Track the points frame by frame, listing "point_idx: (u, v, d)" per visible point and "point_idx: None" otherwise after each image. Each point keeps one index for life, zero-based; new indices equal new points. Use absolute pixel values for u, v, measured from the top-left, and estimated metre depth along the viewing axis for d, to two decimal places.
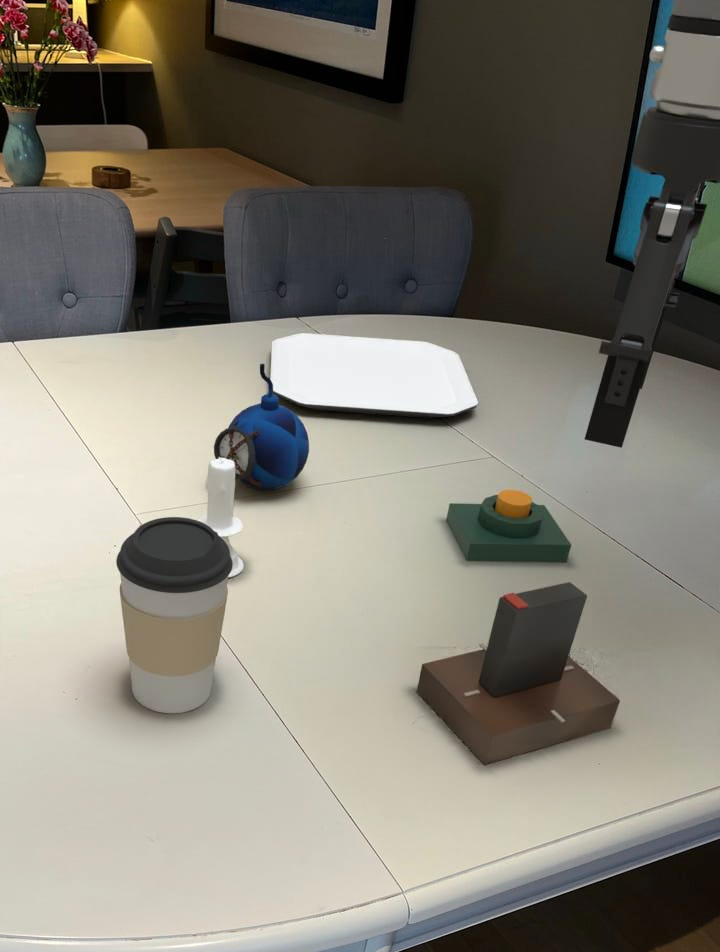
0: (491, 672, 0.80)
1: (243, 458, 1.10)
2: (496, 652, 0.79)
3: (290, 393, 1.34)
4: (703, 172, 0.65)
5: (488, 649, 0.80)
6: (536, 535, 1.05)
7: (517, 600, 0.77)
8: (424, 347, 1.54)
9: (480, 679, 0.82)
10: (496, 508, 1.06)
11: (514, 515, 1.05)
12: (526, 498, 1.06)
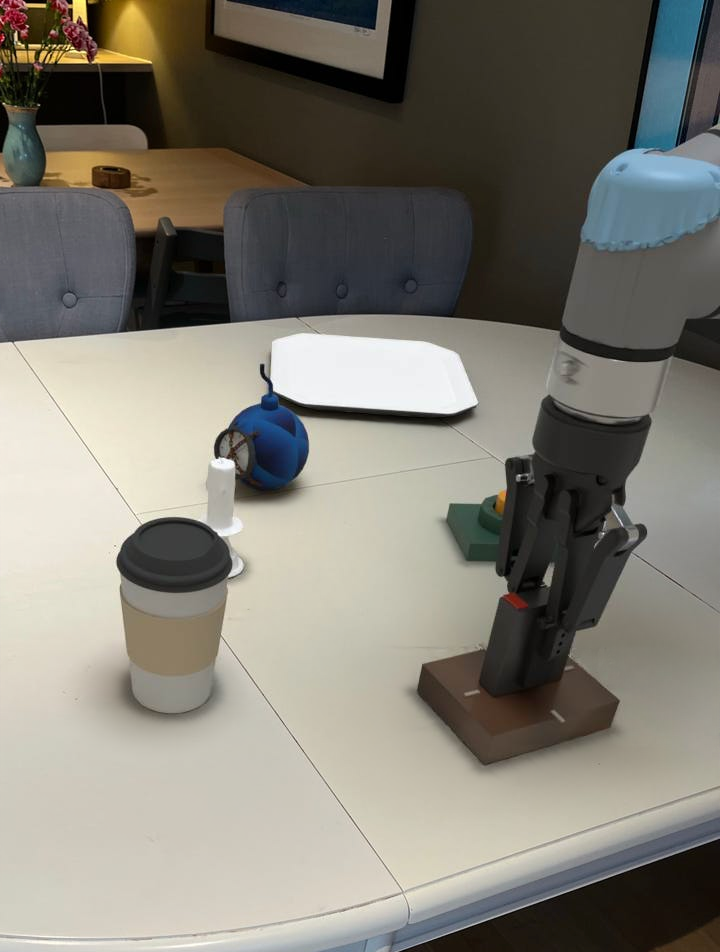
0: (491, 672, 0.80)
1: (243, 458, 1.10)
2: (496, 652, 0.79)
3: (290, 393, 1.34)
4: (633, 465, 0.68)
5: (488, 649, 0.80)
6: None
7: (517, 600, 0.77)
8: (424, 347, 1.54)
9: (480, 679, 0.82)
10: (496, 508, 1.06)
11: None
12: None
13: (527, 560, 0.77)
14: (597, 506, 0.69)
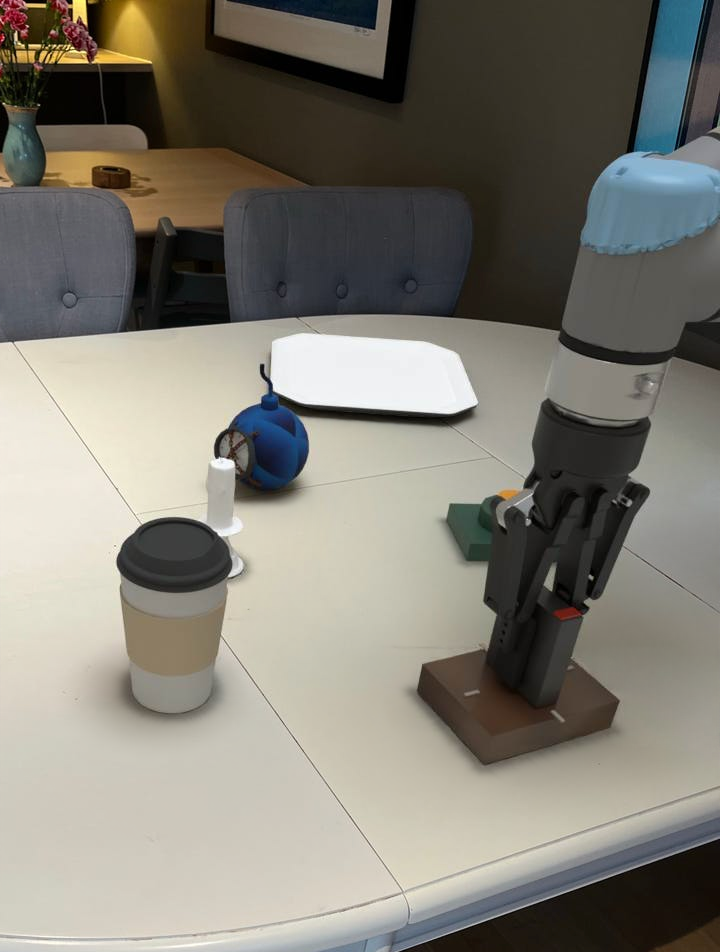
0: (553, 687, 0.79)
1: (243, 458, 1.10)
2: (559, 667, 0.78)
3: (290, 393, 1.34)
4: None
5: (548, 673, 0.78)
6: None
7: (568, 611, 0.76)
8: (424, 347, 1.54)
9: (539, 704, 0.80)
10: None
11: None
12: None
13: (544, 581, 0.75)
14: (623, 484, 0.73)
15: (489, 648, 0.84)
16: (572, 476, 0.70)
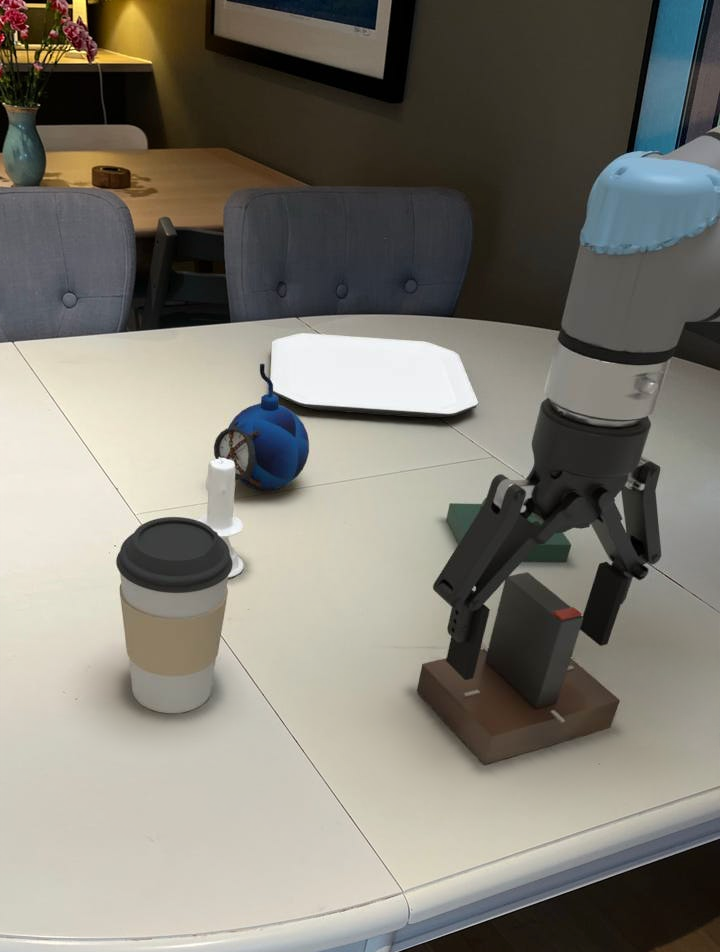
0: (553, 687, 0.79)
1: (243, 458, 1.10)
2: (559, 667, 0.78)
3: (290, 393, 1.34)
4: None
5: (548, 673, 0.78)
6: None
7: (568, 611, 0.76)
8: (424, 347, 1.54)
9: (539, 704, 0.80)
10: None
11: None
12: None
13: (508, 574, 0.73)
14: (623, 484, 0.73)
15: (489, 648, 0.84)
16: (573, 487, 0.71)
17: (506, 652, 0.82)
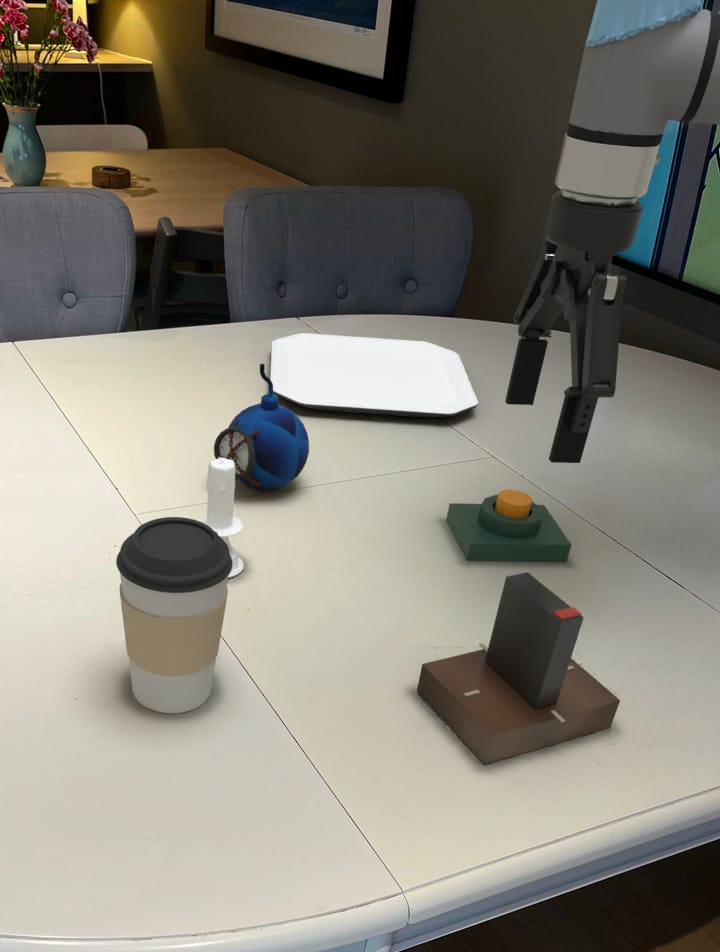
0: (553, 687, 0.79)
1: (243, 458, 1.10)
2: (559, 667, 0.78)
3: (290, 393, 1.34)
4: None
5: (548, 673, 0.78)
6: (536, 535, 1.05)
7: (568, 611, 0.76)
8: (424, 347, 1.54)
9: (539, 704, 0.80)
10: (496, 508, 1.06)
11: (514, 515, 1.05)
12: (526, 498, 1.06)
13: None
14: None
15: (489, 648, 0.84)
16: None
17: (506, 652, 0.82)
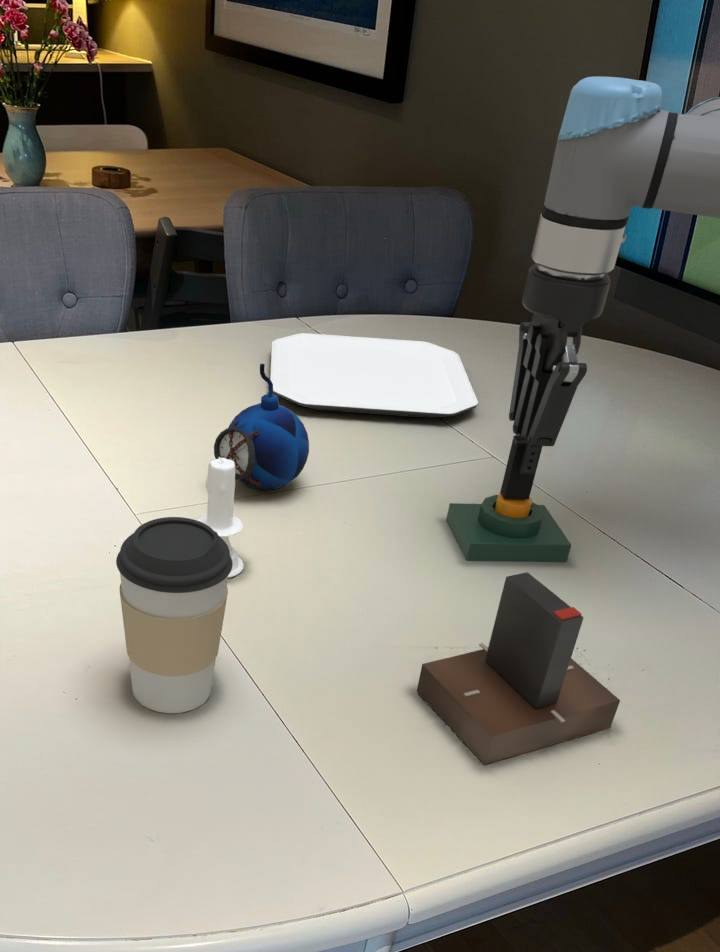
0: (553, 687, 0.79)
1: (243, 458, 1.10)
2: (559, 667, 0.78)
3: (290, 393, 1.34)
4: None
5: (548, 673, 0.78)
6: (536, 535, 1.05)
7: (568, 611, 0.76)
8: (424, 347, 1.54)
9: (539, 704, 0.80)
10: (496, 509, 1.06)
11: (514, 516, 1.05)
12: (526, 499, 1.06)
13: None
14: None
15: (489, 648, 0.84)
16: None
17: (506, 652, 0.82)
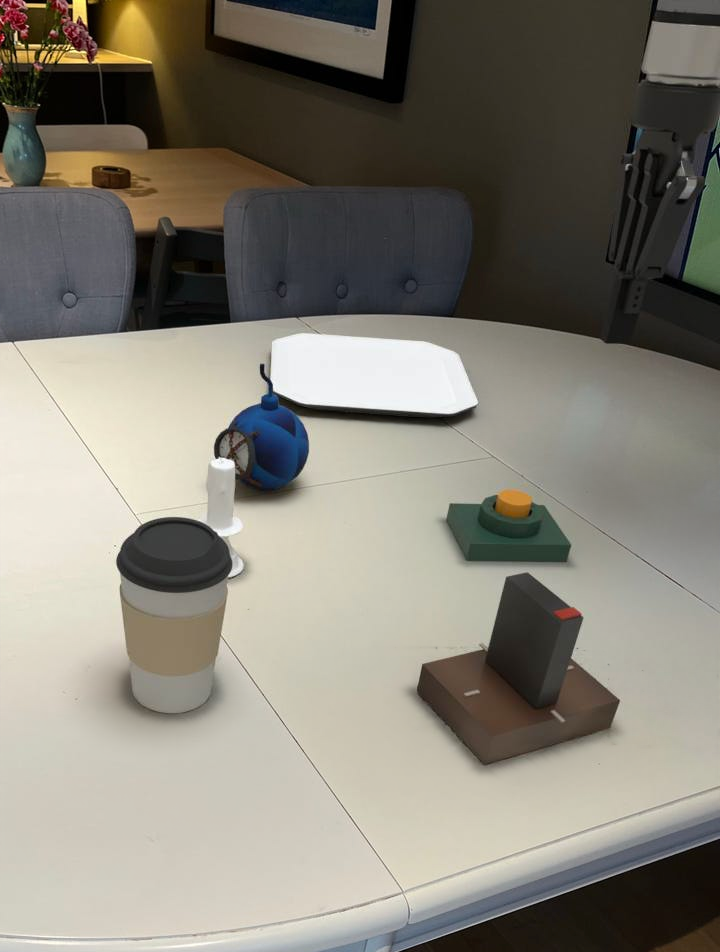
0: (553, 687, 0.79)
1: (243, 458, 1.10)
2: (559, 667, 0.78)
3: (290, 393, 1.34)
4: None
5: (548, 673, 0.78)
6: (536, 535, 1.05)
7: (568, 611, 0.76)
8: (424, 347, 1.54)
9: (539, 704, 0.80)
10: (496, 508, 1.06)
11: (514, 515, 1.05)
12: (526, 498, 1.06)
13: None
14: None
15: (489, 648, 0.84)
16: None
17: (506, 652, 0.82)
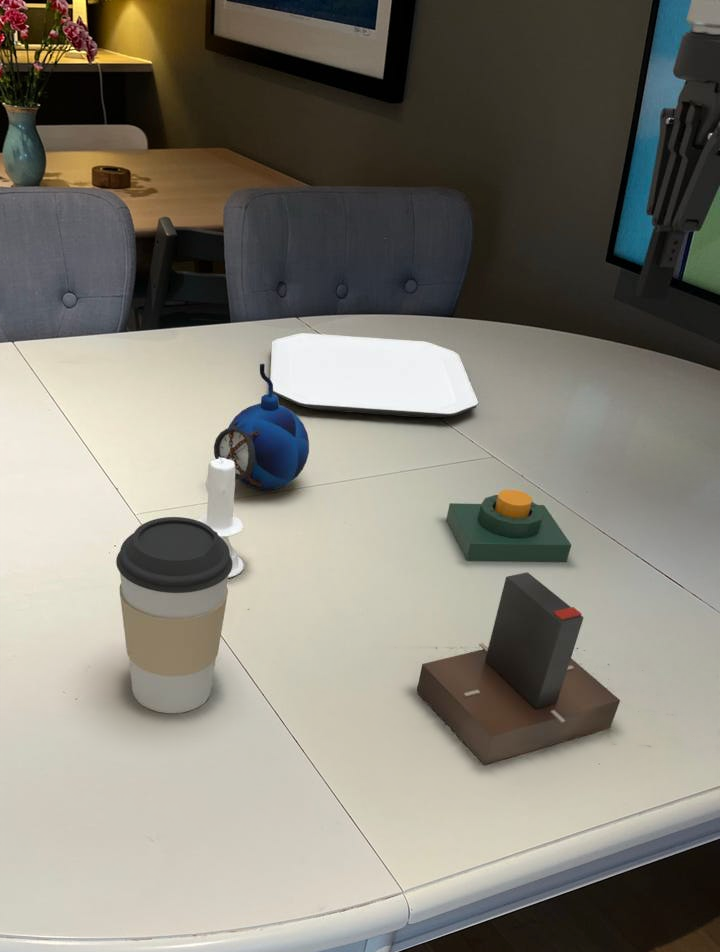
0: (553, 687, 0.79)
1: (243, 458, 1.10)
2: (559, 667, 0.78)
3: (290, 393, 1.34)
4: None
5: (548, 673, 0.78)
6: (536, 535, 1.05)
7: (568, 611, 0.76)
8: (424, 347, 1.54)
9: (539, 704, 0.80)
10: (496, 508, 1.06)
11: (514, 515, 1.05)
12: (526, 498, 1.06)
13: None
14: None
15: (489, 648, 0.84)
16: None
17: (506, 652, 0.82)
